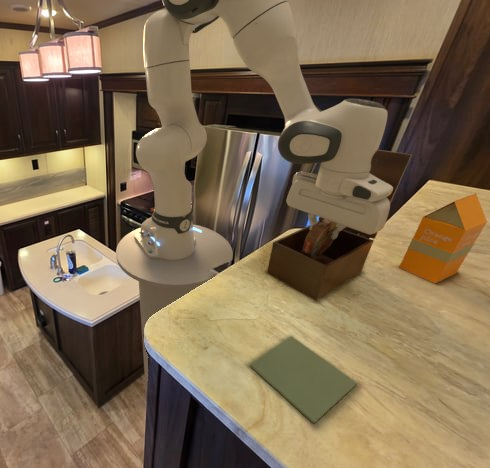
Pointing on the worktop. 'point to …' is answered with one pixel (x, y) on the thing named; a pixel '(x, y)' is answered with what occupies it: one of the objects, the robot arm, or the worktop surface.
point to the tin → (318, 239)
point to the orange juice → (444, 239)
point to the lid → (386, 173)
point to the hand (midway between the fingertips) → (322, 234)
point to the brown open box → (318, 262)
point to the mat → (303, 378)
